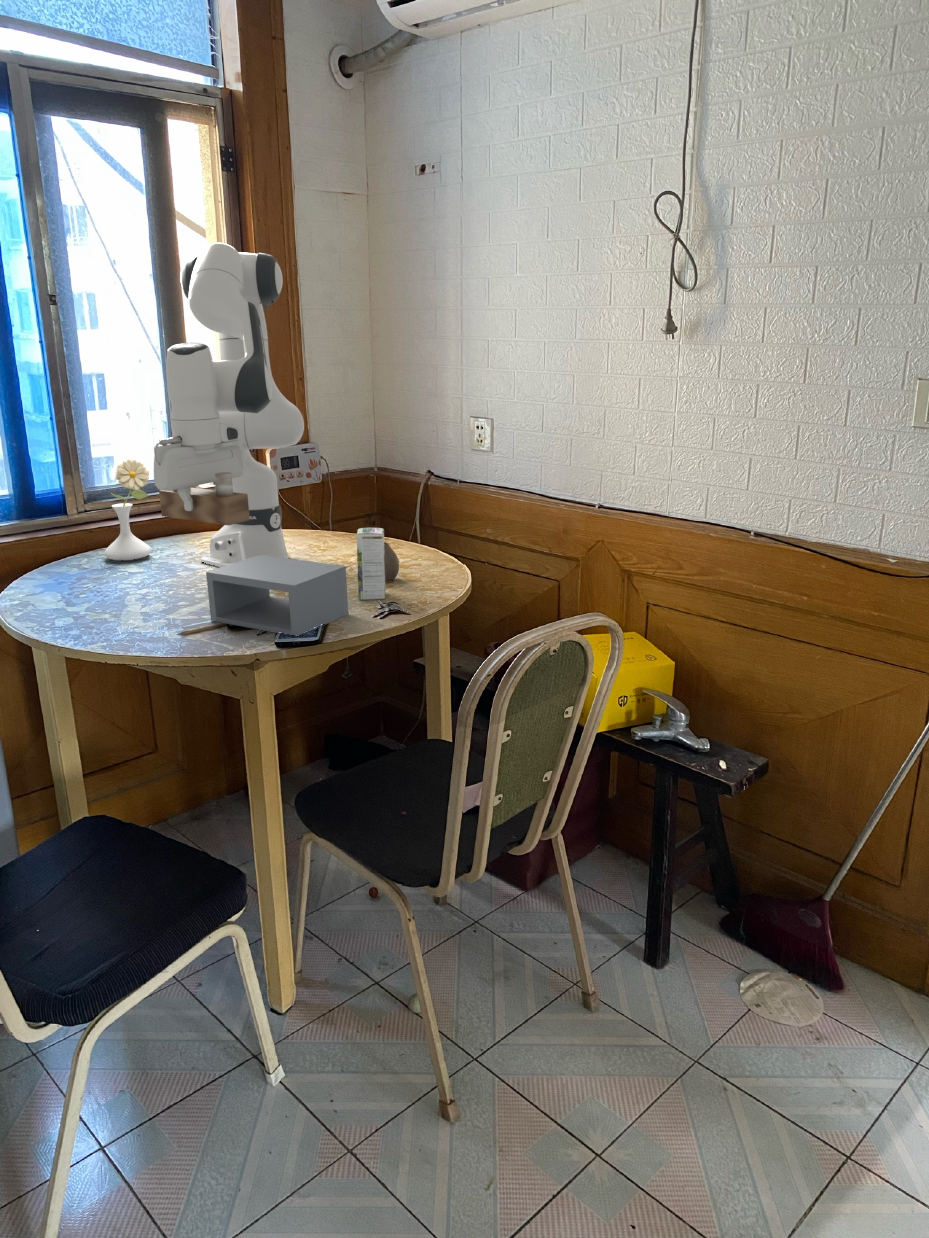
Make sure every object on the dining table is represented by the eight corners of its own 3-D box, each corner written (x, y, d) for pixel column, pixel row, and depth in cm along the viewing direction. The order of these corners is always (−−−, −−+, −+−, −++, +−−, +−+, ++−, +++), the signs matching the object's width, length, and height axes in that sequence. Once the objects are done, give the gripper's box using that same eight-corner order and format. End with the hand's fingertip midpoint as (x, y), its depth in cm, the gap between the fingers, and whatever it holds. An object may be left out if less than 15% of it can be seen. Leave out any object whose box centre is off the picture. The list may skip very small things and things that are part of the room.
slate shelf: (211, 620, 182) (206, 572, 179) (264, 600, 195) (260, 554, 192) (297, 636, 172) (294, 585, 169) (348, 614, 185) (345, 566, 182)
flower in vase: (102, 565, 227) (88, 464, 219) (108, 555, 237) (95, 458, 230) (157, 561, 229) (145, 461, 222) (160, 551, 240) (149, 455, 232)
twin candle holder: (161, 516, 178) (156, 470, 175) (183, 511, 183) (178, 466, 180) (228, 525, 169) (223, 476, 166) (249, 520, 174) (245, 472, 171)
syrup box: (359, 593, 200) (356, 527, 195) (386, 592, 200) (383, 527, 196) (358, 600, 194) (355, 533, 190) (386, 599, 195) (383, 532, 190)
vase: (394, 585, 206) (393, 547, 203) (365, 583, 207) (363, 545, 204) (403, 577, 212) (401, 540, 210) (374, 576, 214) (372, 539, 211)
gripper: (166, 441, 161) (174, 518, 165) (246, 429, 178) (252, 499, 182) (141, 439, 164) (150, 515, 168) (222, 427, 181) (229, 497, 185)
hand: (204, 507), depth 175 cm, fingers closed on twin candle holder, 6 cm apart
